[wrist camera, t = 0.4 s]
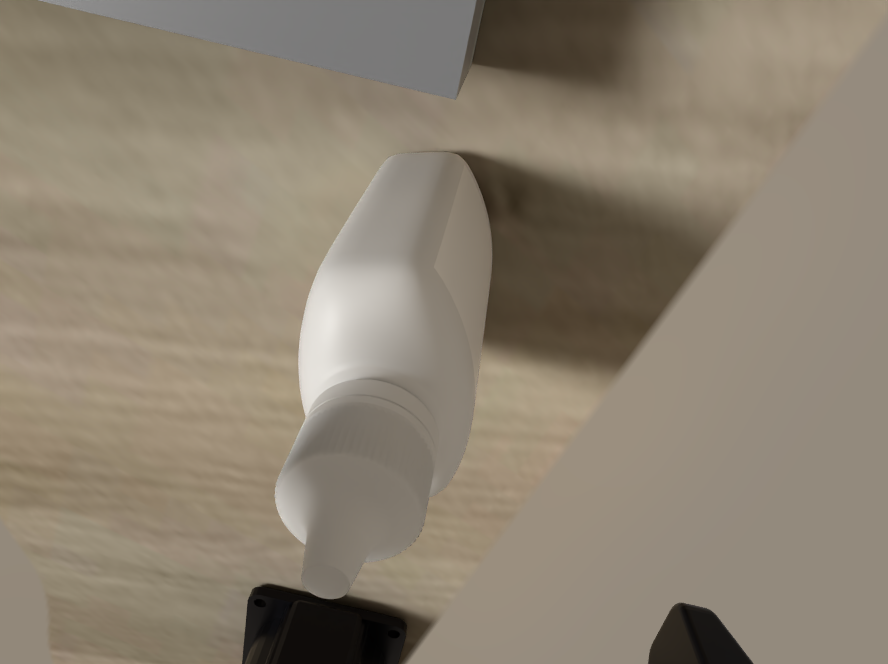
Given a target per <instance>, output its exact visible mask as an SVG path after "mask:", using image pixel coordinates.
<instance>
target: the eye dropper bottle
mask: <svg viewBox="0 0 888 664" xmlns="http://www.w3.org/2000/svg"><path fill="white" fill-rule="evenodd" d="M491 272H492V237H491V229H490V223H489V218H488V214H487V210H486V206H485V203H484V200H483V197H482V194H481V191H480V189H479V186H478V184H477V181H476V179H475V177H474V175H473V173H472V171H471V169H470V168H469V166H468V164H467V163H466V161H464V160H463V159H462V158H461V157H460V156H459V155H458V154H454V153H450V152H417V153H401V154H396V155H393V156H390V157H388V158H387V159H386V161H385V162H384V163H383V164H382V166H381V167H380V169H379V170H378V172H377V173H376V175H375V176H374V178H373V180H372V181H371V183H370V184H369V186H368V188H367V189H366V191H365V192H364V194H363V196H362V197H361V199H360V200H359V202H358V204H357V205H356V207H355V208H354V210H353V212H352V213H351V215H350V217H349V218H348V220H347V221H346V223H345V225H344V226H343V228H342V230H341V231H340V233H339V235H338V236H337V238H336V239H335V241H334V243H333V244H332V246H331V248H330V250H329V251H328V253H327V255H326V257H325V259H324V260H323V262H322V264H321V266H320V268H319V270H318V272H317V275H316V277H315V280H314V282H313V285H312V288H311V290H310V293H309V297H308V300H307V303H306V307H305V312H304V317H303V322H302V327H301V334H300V343H299V357H298V362H299V383H300V392H301V398H302V403H303V408H304V412H305V416H306V419H305V421H304V423H303V425H302V427H301V430H300V432H299V434H298V436H297V438H296V440H295V443H294V445H293V447H292V449H291V451H290V453H289V456H288V458H287V460H286V462H285V464H284V466H283V469H282V471H281V473H280V475H279V477H278V481H277V483H276V488H275V492H276V493H275V498H276V500H275V503H276V505H277V507H276V508H277V510H278V511H279V515H280V517H281V519H282V521H283V522H284V524H285V525H286V527H287V528H288V529H289V530H290V532H291V533H292V534H293V535H294V536H295V537H296V538H297V539H298V540H299V541H301V542H302V543H303V544H305V553H304V561H303V569H302V578H301V579H302V583H303V585H304V587H305V588H306V589H307V590H308V591H309V592H310V593H312V594H313V595H315V596H318V597H320V598H325V599H337V598H340V597H343V596H344V595H346V594H347V593H348V591H349V589H350V587H351V586H352V584H353V582H354V580H355V578H356V576H357V574H358V572H359V571H360V569H361V567H362V565H363V563H364V562H375V561H380V560H384V559H387V558H390V557H393V556H395V555H397V554H399V553H401V552H402V551H404V550H406V549H407V548H408V547H409V546H411V544H412V543H413V542H415V541H416V538H417V537H419V533H420V532H421V531H422V527H423V526H424V521H425V516H426V511H427V505H428V500H429V497H432V496H435V495H436V494H438V493H439V492H440V491H442V490H443V489H444V488H446V486H447V485H448V484H449V482H450V481H451V479H452V478H453V476H454V474H455V472H456V470H457V468H458V466H459V464H460V462H461V460H462V457H463V455H464V452H465V449H466V446H467V442H468V439H469V434H470V430H471V424H472V419H473V412H474V405H475V398H476V390H477V383H478V375H479V367H480V359H481V352H482V344H483V336H484V328H485V320H486V313H487V305H488V297H489V289H490V281H491Z"/></svg>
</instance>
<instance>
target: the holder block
mask: <svg viewBox="0 0 888 664" xmlns="http://www.w3.org/2000/svg"><path fill="white" fill-rule="evenodd" d="M39 1H43V2H48V3H52V4H56V5H60V6H64V7H69V8H73V9H77V10H81V11H85V12H90V13H94V14H98V15H102V16H106V17H111V18H115V19H119V20H123V21H127V22H132V23H136V24H140V25H144V26H148V27H153V28H157V29H161V30H165V31H169V32H174V33H178V34H182V35H186V36H190V37H195V38H199V39H203V40H207V41H211V42H216V43H220V44H224V45H228V46H232V47H237V48H241V49H245V50H249V51H253V52H258V53H262V54H266V55H270V56H274V57H279V58H283V59H287V60H291V61H295V62H300V63H304V64H308V65H312V66H316V67H321V68H325V69H329V70H333V71H337V72H341V73H346V74H350V75H354V76H358V77H362V78H367V79H371V80H375V81H379V82H383V83H388V84H392V85H396V86H400V87H404V88H409V89H413V90H417V91H421V92H425V93H430V94H434V95H438V96H442V97H446V98H451V99H455V100H456V98H457V96H458V94H459V92H460V89H461V87H462V85H463V83H464V80H465V78H466V76H467V74H468V71H469V69H470V67H471V65H472V60H473V55H474V51H475V46H476V41H477V37H478V32H479V27H480V23H481V18H482V13H483V9H484V4H485V0H39Z"/></svg>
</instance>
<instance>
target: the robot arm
mask: <svg viewBox="0 0 888 664" xmlns="http://www.w3.org/2000/svg"><path fill="white" fill-rule="evenodd" d="M406 632H407V624H406V623H405V622H404V621H403V620H401V619H399V618H395V617H391V616H387V615H382V614H378V613H374V612H369V611H365V610H361V609H357V608H352V607H348V606H344V605H339V604H335V603H331V602H326V601H322V600H318V599H314V598H309V597H305V596H301V595H296V594H292V593H288V592H284V591H279V590H275V589H271V588H266V587H255V588H254V589H252V592H251V594H250V596H249V599H248V604H247V616H246V627H245V638H244V649H243V661H242V664H398V662H399V659H400V655H401V652H402V648H403V644H404V641H405V637H406ZM648 664H753V662H752V661H751V660H750V659H749V657H748V656H747V655H746V653H745V652H744V651H743V649H742V648H741V647H740V645H739V644H738V643H737V641H736V640H735V639H734V638H733V636H732V635H731V634H730V633H729V631H728V630H727V629H726V627H725V626H724V625H723V624H722V622H721V621H720V619H719V618H718V617H717V616H716V615H715V614H714V613H713V612H712V611H711V610H709V609H707V608H703V607H699V606H694V605H690V604H685V603H677V604H676V605H674V606H673V607H672V609H671V610H670V612H669V614H668V616H667V617H666V619H665V621H664V623H663V625H662V627H661V629H660V631H659V632H658V634H657V636H656V638H655V640H654V641H653V644H652V646H651V649H650V653H649V662H648Z"/></svg>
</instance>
